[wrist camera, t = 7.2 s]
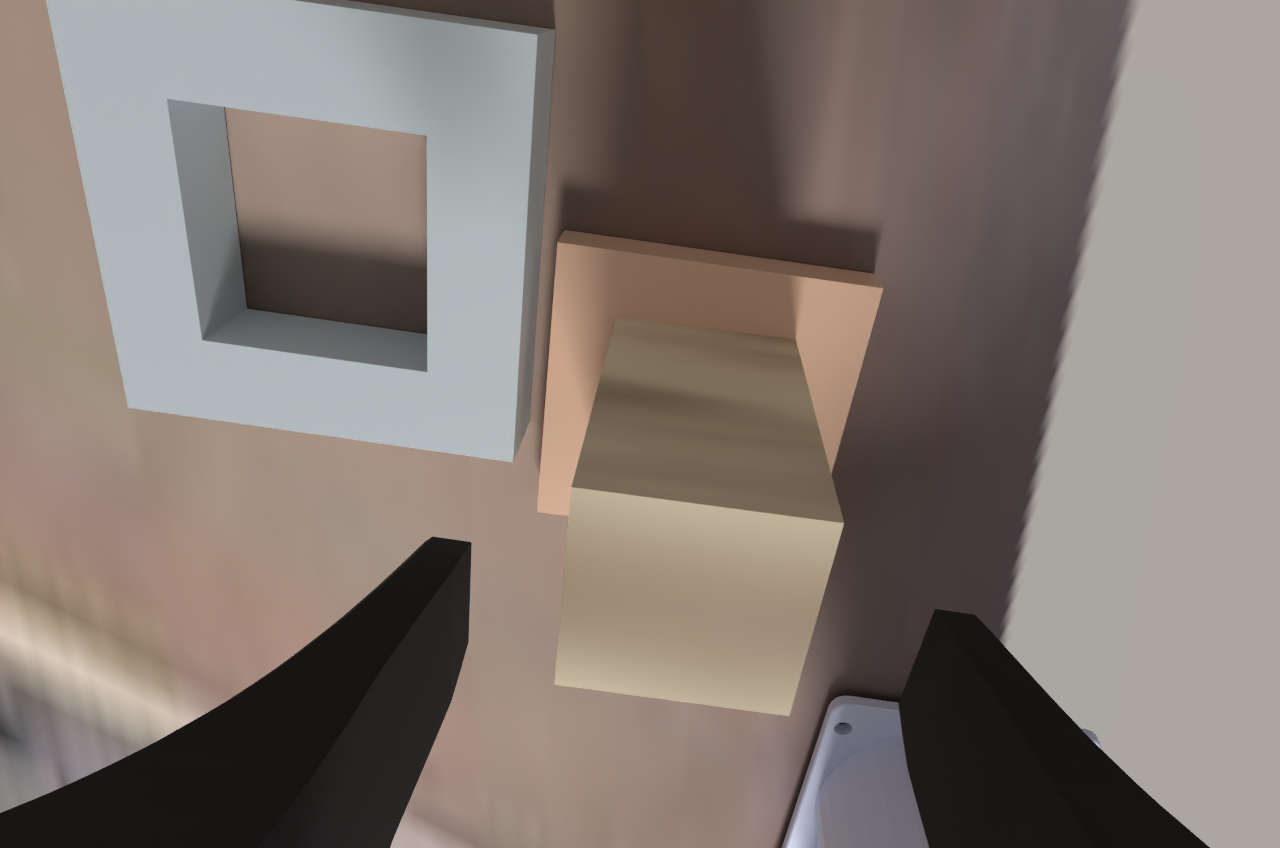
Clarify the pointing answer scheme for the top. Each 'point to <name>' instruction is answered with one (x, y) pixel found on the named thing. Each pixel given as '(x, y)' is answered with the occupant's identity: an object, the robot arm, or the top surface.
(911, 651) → the top surface
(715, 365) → the birch block
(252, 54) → the board
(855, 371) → the terracotta tile
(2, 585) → the top surface
